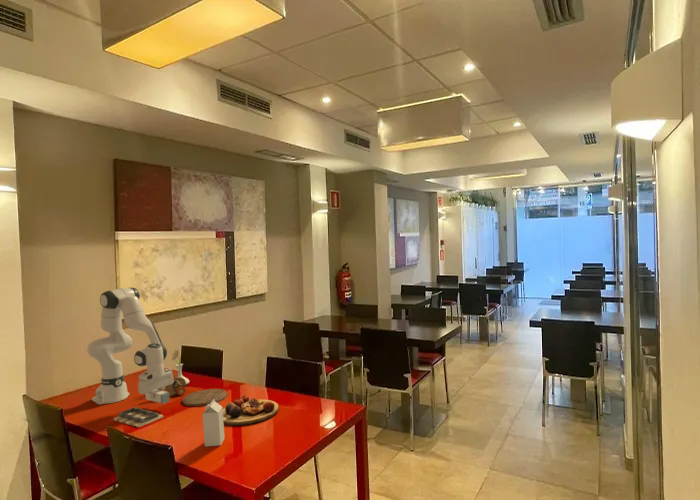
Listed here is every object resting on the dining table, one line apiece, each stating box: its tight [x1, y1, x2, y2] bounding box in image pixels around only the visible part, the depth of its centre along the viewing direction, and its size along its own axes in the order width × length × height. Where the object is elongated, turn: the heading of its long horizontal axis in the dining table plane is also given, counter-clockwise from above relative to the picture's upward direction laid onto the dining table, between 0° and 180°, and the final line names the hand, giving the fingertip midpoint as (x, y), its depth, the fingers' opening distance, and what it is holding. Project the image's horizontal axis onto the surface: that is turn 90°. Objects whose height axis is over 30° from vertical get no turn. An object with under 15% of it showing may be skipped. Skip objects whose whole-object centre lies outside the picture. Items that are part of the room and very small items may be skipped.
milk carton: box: [202, 399, 225, 447], centre depth 196 cm, size 7×7×19 cm
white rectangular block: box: [145, 390, 170, 405], centre depth 245 cm, size 16×4×5 cm, turn 59°
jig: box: [113, 406, 164, 428], centre depth 231 cm, size 23×14×3 cm, turn 58°
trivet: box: [182, 388, 228, 408], centre depth 257 cm, size 25×25×2 cm
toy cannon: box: [157, 372, 187, 397], centre depth 264 cm, size 8×21×14 cm, turn 123°
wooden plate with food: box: [223, 395, 280, 426], centre depth 229 cm, size 32×32×8 cm
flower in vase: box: [171, 348, 190, 385], centre depth 284 cm, size 13×11×25 cm
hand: (157, 396), depth 245 cm, fingers closed on white rectangular block, 4 cm apart
